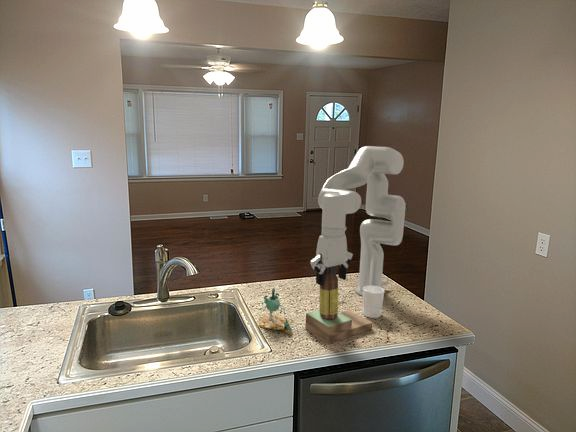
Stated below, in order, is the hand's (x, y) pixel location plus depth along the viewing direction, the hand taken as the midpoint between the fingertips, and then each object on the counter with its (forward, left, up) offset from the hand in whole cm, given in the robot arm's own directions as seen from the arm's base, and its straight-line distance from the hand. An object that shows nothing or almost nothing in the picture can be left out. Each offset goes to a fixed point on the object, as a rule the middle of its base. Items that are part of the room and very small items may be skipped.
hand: (331, 281), depth 142 cm
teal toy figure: (+13, -14, -19) cm, 27 cm away
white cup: (-23, -3, -18) cm, 30 cm away
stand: (-4, 0, -18) cm, 19 cm away
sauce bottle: (+1, 0, -12) cm, 12 cm away
